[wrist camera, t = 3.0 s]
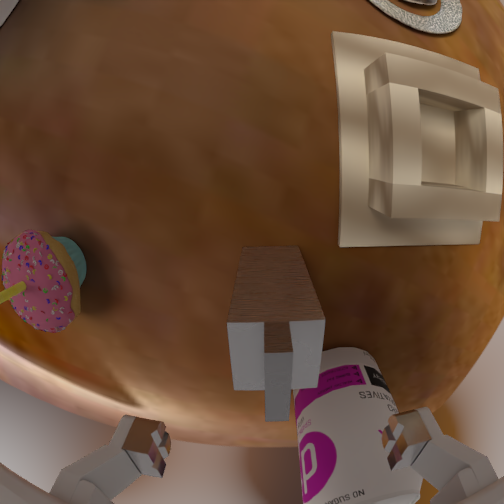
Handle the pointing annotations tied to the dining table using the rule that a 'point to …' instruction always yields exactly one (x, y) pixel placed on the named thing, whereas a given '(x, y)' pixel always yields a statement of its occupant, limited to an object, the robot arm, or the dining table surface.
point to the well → (414, 145)
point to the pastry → (436, 24)
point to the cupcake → (43, 279)
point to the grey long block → (274, 327)
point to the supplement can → (349, 435)
